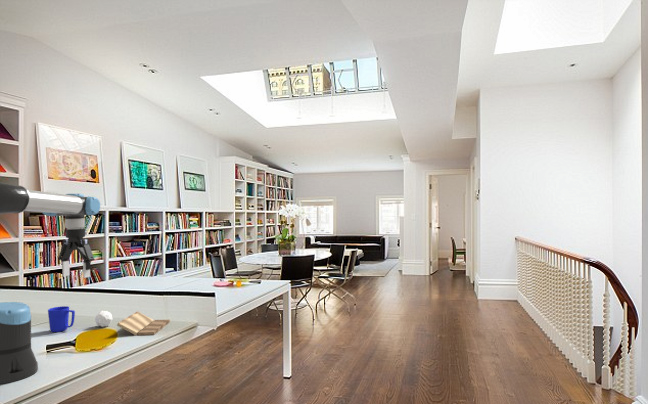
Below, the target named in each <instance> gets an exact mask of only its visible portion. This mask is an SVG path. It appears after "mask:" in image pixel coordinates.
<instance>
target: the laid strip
mask: <svg viewBox="0 0 648 404" xmlns="http://www.w3.org/2000/svg"><path fill="white" fill-rule="evenodd" d="M169 323H171V319H154V321H153V322H152V323H151V324H149V325H148V326H146V327H145V328H144V329H142V330H141V331H140V332H138V334H137V335H136V336H150V335H151V336H153V335H157V333H159V331H161V330H162V329H163V328H165V327H166V326H167V325H168V324H169Z"/></svg>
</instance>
